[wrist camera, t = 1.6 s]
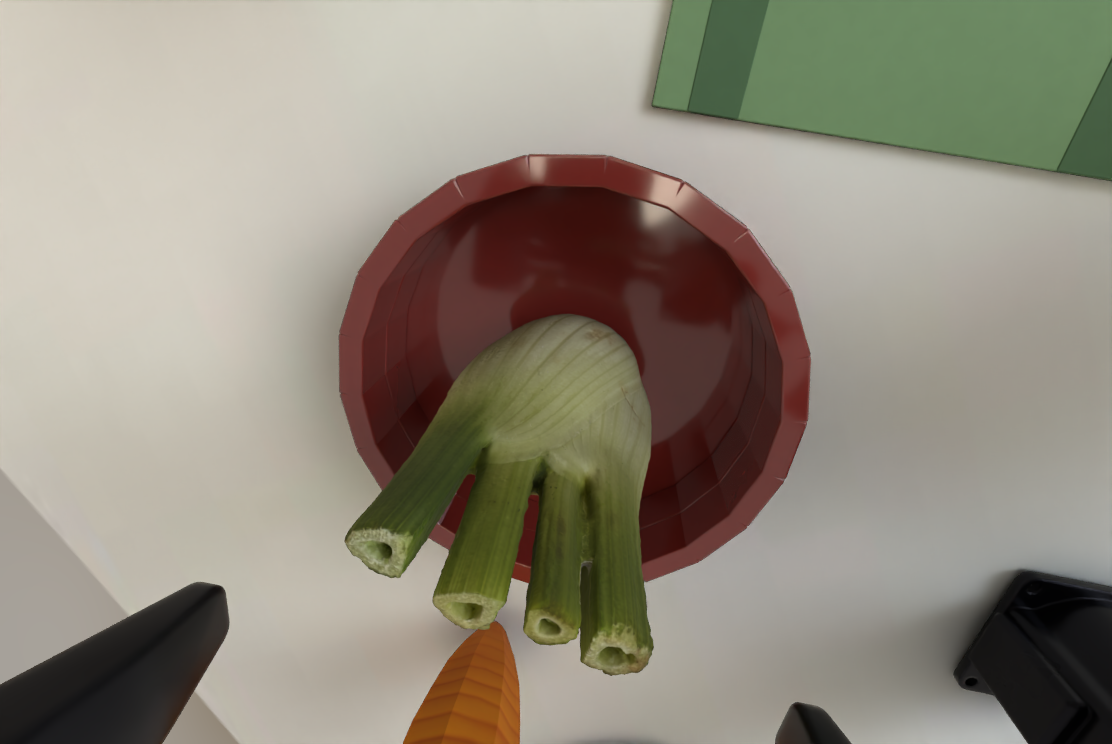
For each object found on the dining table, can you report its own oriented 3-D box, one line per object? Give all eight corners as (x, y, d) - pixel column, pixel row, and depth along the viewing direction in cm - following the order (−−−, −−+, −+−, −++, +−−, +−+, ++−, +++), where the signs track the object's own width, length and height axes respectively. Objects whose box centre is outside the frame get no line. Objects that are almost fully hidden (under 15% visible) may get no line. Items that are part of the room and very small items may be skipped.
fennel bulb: (475, 343, 20) (294, 570, 9) (576, 263, 18) (506, 418, 7) (570, 450, 21) (514, 765, 10) (671, 385, 20) (735, 673, 9)
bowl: (832, 193, 17) (894, 203, 13) (711, 546, 23) (729, 626, 19) (397, 120, 18) (334, 109, 14) (386, 481, 23) (339, 544, 20)
